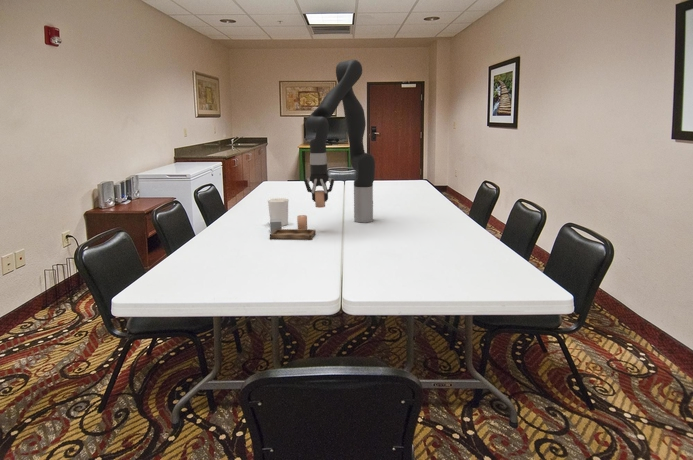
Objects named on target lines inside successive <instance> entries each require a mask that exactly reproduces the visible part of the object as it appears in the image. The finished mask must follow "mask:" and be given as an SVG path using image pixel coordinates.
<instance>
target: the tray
mask: <svg viewBox="0 0 693 460" xmlns="http://www.w3.org/2000/svg"><path fill="white" fill-rule="evenodd" d="M316 234H317V233H316V229H308V228H307V229H298V228H294V229H293V228H282V229H275V230H274V231H273V232H272V233H271V232H270V234H269V240H291V241H292V240H295V241H296V240H297V241H298V240H299V241H301V240H302V241H303V240H304V241H305V240H306V241H312V240H313V239H314V237H315V235H316Z"/></svg>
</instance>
